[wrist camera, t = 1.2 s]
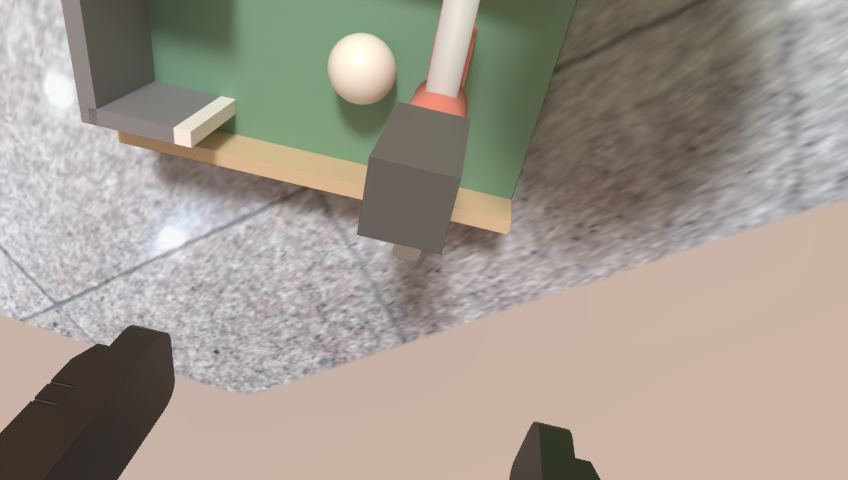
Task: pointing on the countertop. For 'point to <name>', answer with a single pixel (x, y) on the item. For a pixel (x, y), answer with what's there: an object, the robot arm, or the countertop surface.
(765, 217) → the countertop surface
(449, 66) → the striker
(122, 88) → the pitch
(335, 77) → the ball
